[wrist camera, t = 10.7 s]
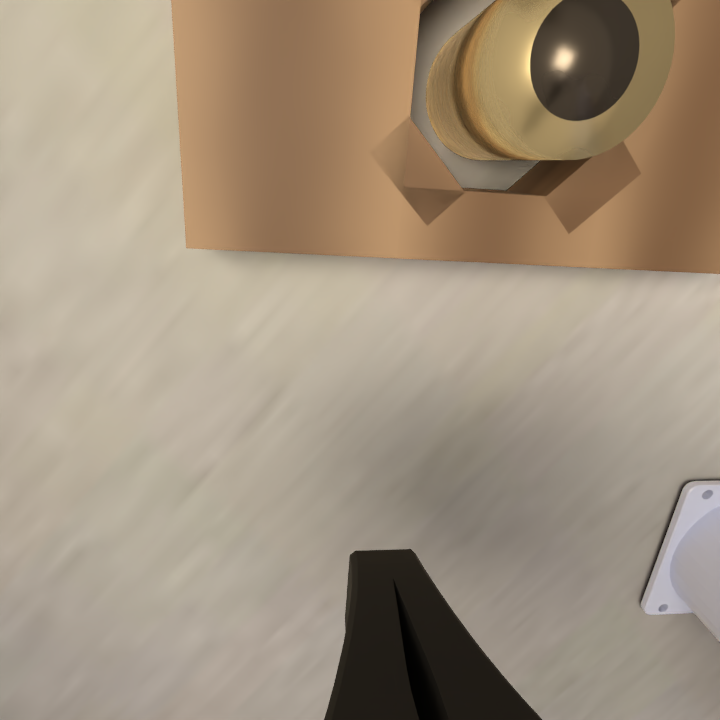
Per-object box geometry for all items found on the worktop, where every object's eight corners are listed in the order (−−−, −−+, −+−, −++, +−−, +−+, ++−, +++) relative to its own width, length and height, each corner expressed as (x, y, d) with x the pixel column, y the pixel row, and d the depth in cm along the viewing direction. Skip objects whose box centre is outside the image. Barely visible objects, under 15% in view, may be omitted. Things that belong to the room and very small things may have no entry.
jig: (846, -244, 14) (982, -346, 11) (690, 258, 19) (757, 275, 16) (176, -382, 11) (137, -555, 9) (205, 233, 17) (186, 248, 14)
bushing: (556, 25, 15) (699, -50, 10) (534, 162, 17) (647, 163, 11) (432, 15, 15) (509, -70, 9) (420, 157, 16) (481, 156, 11)
